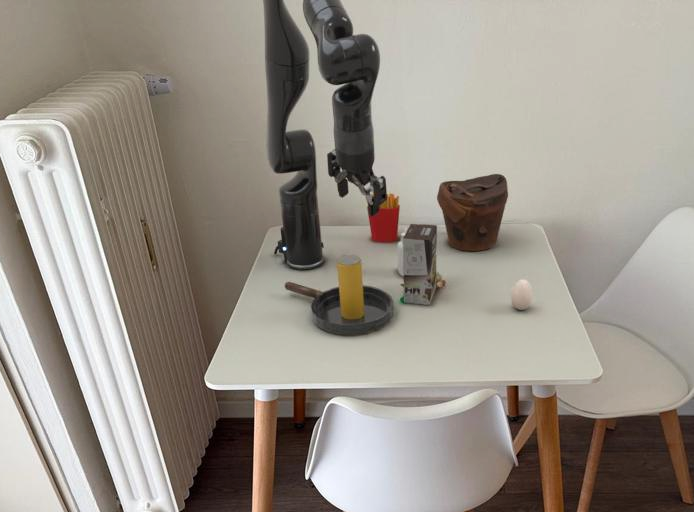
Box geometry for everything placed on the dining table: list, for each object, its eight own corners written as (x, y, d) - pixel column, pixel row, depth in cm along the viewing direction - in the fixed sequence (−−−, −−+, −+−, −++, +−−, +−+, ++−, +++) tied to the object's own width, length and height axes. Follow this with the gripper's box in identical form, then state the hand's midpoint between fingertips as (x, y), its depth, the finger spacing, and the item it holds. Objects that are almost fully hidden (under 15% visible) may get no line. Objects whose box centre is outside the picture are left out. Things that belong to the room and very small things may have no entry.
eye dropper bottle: (415, 268, 167) (415, 224, 161) (414, 278, 163) (414, 233, 156) (398, 268, 168) (397, 224, 161) (397, 278, 163) (396, 233, 156)
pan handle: (283, 290, 155) (282, 282, 154) (288, 287, 156) (288, 279, 155) (320, 302, 150) (319, 294, 149) (325, 298, 151) (324, 290, 150)
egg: (524, 302, 152) (527, 273, 148) (534, 312, 149) (537, 282, 144) (506, 306, 151) (508, 277, 147) (516, 315, 147) (518, 286, 143)
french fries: (400, 236, 185) (399, 191, 178) (399, 242, 181) (398, 196, 174) (368, 235, 185) (366, 190, 178) (366, 241, 182) (363, 196, 175)
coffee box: (430, 305, 151) (430, 240, 142) (403, 303, 152) (401, 238, 143) (437, 287, 159) (438, 224, 150) (411, 285, 160) (410, 222, 151)
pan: (295, 322, 145) (294, 310, 144) (344, 289, 158) (344, 278, 157) (362, 345, 137) (361, 332, 136) (409, 308, 150) (408, 297, 149)
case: (422, 245, 179) (422, 181, 169) (466, 224, 192) (469, 162, 182) (474, 264, 170) (477, 196, 160) (518, 240, 182) (523, 176, 172)
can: (336, 315, 147) (331, 261, 139) (350, 306, 150) (346, 252, 143) (355, 321, 144) (351, 266, 137) (368, 311, 148) (366, 257, 141)
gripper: (395, 147, 124) (395, 211, 138) (340, 115, 129) (346, 180, 143) (368, 167, 121) (371, 230, 134) (313, 133, 126) (321, 198, 139)
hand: (358, 204), depth 139 cm, fingers open, 8 cm apart
